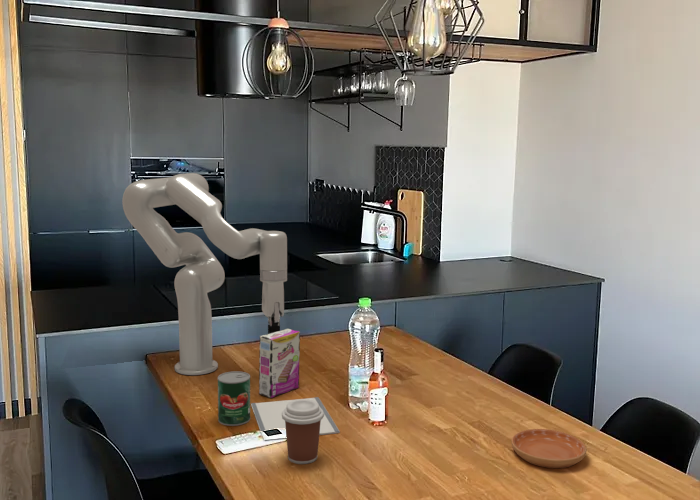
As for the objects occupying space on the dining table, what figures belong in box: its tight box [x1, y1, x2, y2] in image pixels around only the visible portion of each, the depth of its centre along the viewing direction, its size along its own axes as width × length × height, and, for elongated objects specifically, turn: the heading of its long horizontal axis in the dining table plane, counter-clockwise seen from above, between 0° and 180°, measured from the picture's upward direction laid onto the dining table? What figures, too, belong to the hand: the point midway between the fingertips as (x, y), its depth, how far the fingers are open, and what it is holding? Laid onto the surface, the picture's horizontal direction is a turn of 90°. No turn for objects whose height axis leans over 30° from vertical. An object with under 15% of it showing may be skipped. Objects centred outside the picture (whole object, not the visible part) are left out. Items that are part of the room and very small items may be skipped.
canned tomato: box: [217, 370, 251, 427], centre depth 168 cm, size 8×8×11 cm
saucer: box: [511, 428, 587, 469], centre depth 152 cm, size 16×16×3 cm
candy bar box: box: [258, 328, 301, 399], centre depth 187 cm, size 11×5×16 cm, turn 141°
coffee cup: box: [282, 398, 324, 465], centre depth 148 cm, size 9×9×12 cm
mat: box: [250, 396, 341, 436], centre depth 170 cm, size 22×18×1 cm
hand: (274, 338), depth 195 cm, fingers closed
